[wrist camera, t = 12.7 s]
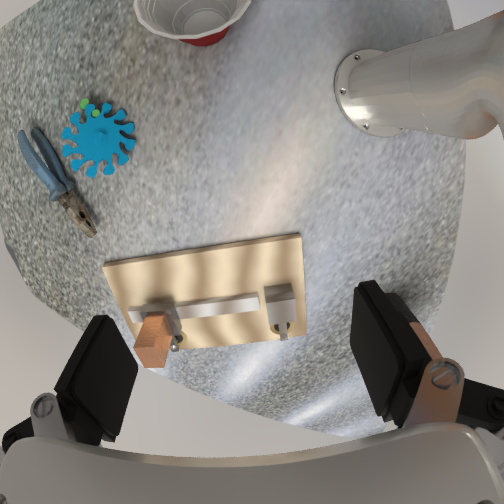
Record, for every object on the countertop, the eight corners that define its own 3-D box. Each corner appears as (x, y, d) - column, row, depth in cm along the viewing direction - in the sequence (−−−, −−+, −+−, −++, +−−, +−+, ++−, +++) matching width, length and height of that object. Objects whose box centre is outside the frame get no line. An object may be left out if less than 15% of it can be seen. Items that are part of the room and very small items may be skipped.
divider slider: (174, 297, 41) (159, 343, 32) (190, 342, 45) (182, 388, 36) (144, 301, 41) (125, 345, 32) (163, 344, 45) (151, 388, 36)
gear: (147, 159, 32) (74, 188, 26) (133, 170, 37) (70, 196, 31) (123, 86, 29) (52, 106, 23) (112, 105, 33) (50, 125, 27)
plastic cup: (254, 58, 28) (260, 29, 18) (168, 71, 29) (135, 52, 18) (245, -10, 24) (246, -55, 13) (162, 4, 24) (133, -33, 13)
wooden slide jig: (299, 233, 39) (307, 250, 34) (305, 328, 47) (311, 351, 42) (105, 262, 40) (91, 281, 35) (143, 345, 48) (135, 366, 43)
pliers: (107, 223, 37) (89, 239, 32) (99, 230, 38) (81, 247, 33) (41, 123, 30) (17, 127, 24) (34, 133, 30) (10, 138, 25)
